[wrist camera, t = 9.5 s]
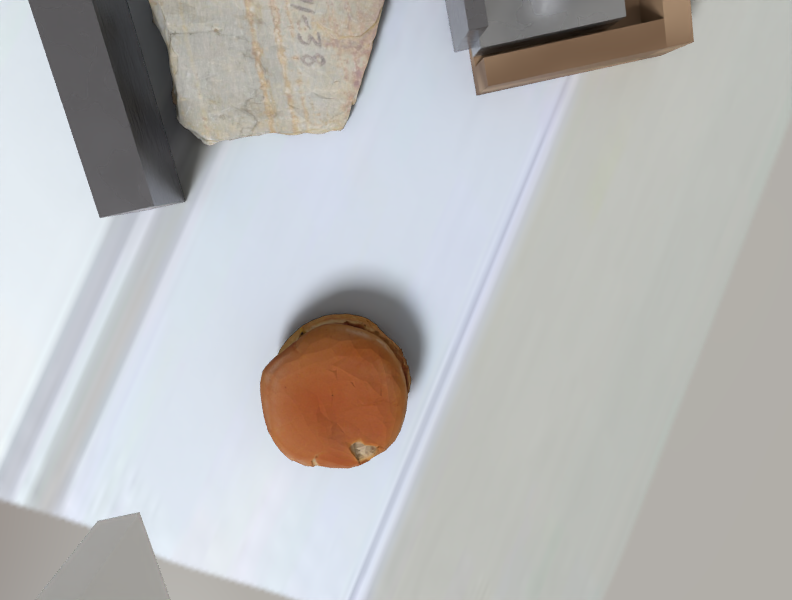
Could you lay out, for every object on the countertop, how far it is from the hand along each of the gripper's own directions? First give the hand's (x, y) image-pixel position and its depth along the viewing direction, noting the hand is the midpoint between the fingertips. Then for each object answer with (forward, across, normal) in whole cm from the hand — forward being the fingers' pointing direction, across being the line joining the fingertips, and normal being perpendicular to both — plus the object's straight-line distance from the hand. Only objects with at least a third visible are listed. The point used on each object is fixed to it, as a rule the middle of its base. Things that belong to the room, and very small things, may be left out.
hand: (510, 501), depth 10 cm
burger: (+27, -6, -7) cm, 29 cm away
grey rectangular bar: (+27, -14, +15) cm, 34 cm away
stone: (+27, -6, +16) cm, 32 cm away
